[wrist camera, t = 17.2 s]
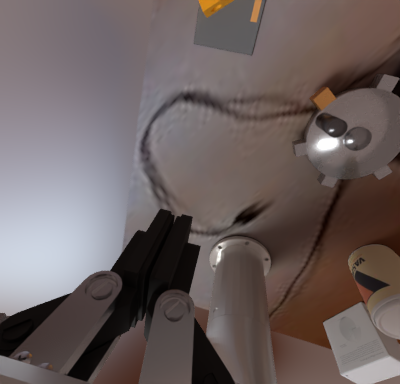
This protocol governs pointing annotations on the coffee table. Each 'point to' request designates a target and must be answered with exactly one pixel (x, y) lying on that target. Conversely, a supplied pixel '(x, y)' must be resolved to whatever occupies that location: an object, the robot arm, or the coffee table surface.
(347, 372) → the skincare box
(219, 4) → the pipe clamp
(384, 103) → the sprocket
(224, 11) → the mat
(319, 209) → the coffee table surface
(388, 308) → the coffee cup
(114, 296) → the robot arm
